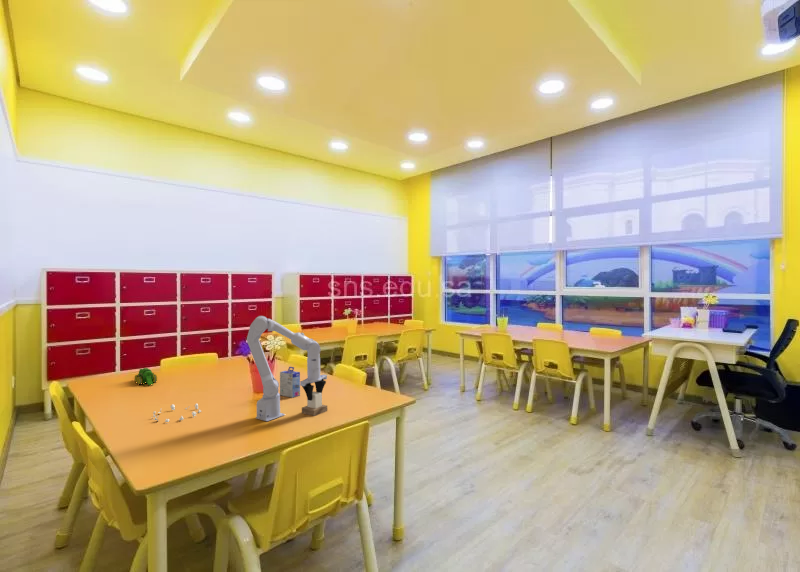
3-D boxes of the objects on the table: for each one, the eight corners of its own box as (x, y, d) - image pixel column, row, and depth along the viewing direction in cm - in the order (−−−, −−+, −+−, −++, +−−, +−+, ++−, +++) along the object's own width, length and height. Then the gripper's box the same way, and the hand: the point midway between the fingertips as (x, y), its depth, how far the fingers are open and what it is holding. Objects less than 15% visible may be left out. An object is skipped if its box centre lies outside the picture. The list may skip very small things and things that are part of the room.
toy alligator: (147, 375, 253) (147, 362, 253) (160, 385, 230) (159, 370, 230) (129, 378, 246) (129, 364, 246) (140, 388, 223) (140, 372, 223)
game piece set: (155, 413, 181) (154, 404, 181) (203, 406, 189) (203, 398, 188) (146, 427, 163) (146, 418, 163) (200, 419, 171) (200, 411, 171)
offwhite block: (315, 408, 174) (315, 395, 174) (307, 406, 177) (307, 393, 177) (321, 406, 178) (321, 393, 178) (313, 404, 180) (313, 391, 180)
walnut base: (314, 417, 172) (314, 410, 172) (301, 414, 176) (301, 407, 176) (327, 412, 178) (327, 405, 178) (314, 409, 183) (314, 402, 183)
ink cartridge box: (301, 395, 204) (300, 367, 203) (292, 398, 199) (292, 369, 199) (287, 392, 209) (287, 365, 209) (279, 395, 204) (278, 367, 204)
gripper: (308, 372, 169) (308, 404, 169) (331, 366, 181) (332, 395, 181) (296, 370, 173) (297, 401, 173) (320, 364, 185) (321, 393, 185)
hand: (314, 398), depth 177 cm, fingers open, 5 cm apart
